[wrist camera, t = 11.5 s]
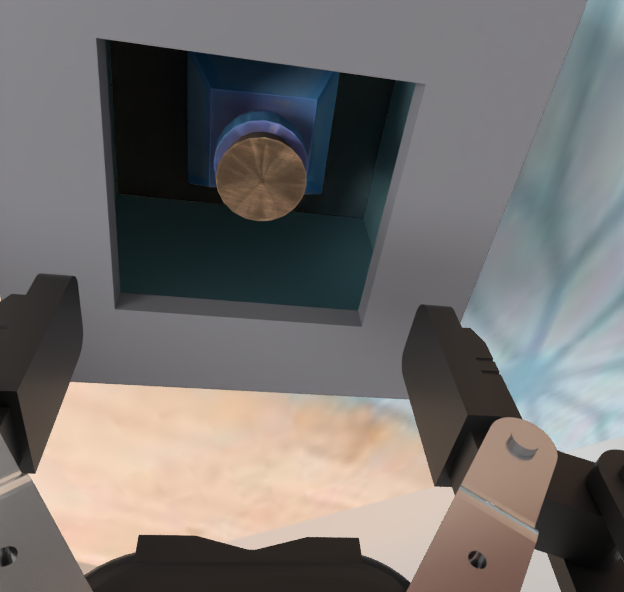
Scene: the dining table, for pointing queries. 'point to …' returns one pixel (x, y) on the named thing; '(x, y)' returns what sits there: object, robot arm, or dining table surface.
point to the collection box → (294, 225)
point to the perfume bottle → (258, 131)
